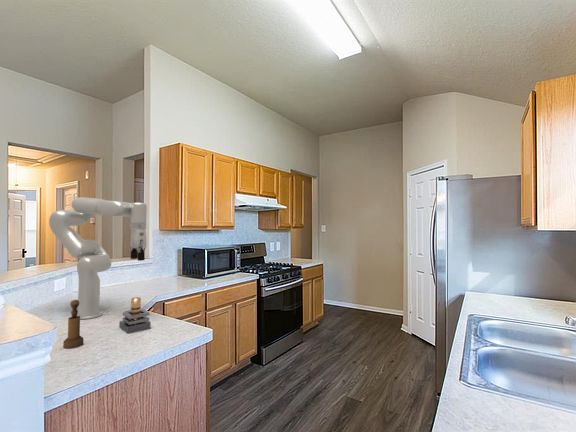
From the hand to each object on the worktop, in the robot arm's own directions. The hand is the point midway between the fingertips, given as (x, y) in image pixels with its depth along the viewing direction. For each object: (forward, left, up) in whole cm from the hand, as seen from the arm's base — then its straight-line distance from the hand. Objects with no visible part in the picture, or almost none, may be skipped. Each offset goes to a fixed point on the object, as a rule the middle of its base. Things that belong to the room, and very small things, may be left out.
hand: (137, 259), depth 159 cm
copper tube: (+15, -6, -27) cm, 32 cm away
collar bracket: (+14, -6, -30) cm, 34 cm away
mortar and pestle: (+19, -30, -31) cm, 47 cm away
